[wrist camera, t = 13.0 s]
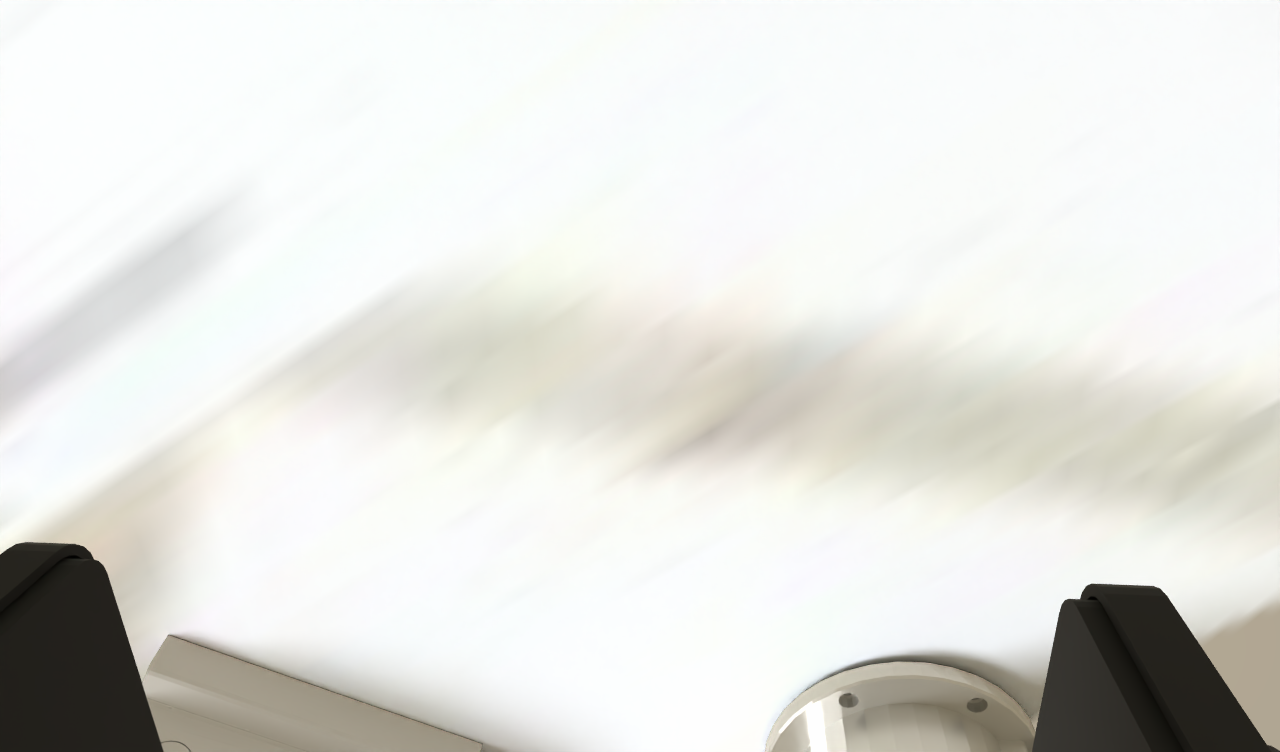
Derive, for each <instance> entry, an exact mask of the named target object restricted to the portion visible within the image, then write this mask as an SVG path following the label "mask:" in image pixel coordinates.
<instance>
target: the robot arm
mask: <svg viewBox="0 0 1280 752" xmlns="http://www.w3.org/2000/svg"><path fill="white" fill-rule="evenodd" d="M0 752H164V751H163V748H162V745H161V741H160V738H159V735H158V732H157V729H156V726H155V723H154V719H153V716H152V713H151V710H150V707H149V704H148V700H147V697H146V694H145V691H144V688H143V685H142V682H141V678H140V675H139V672H138V669H137V666H136V663H135V659H134V656H133V653H132V650H131V647H130V644H129V641H128V637H127V634H126V631H125V628H124V625H123V622H122V618H121V615H120V612H119V609H118V606H117V603H116V600H115V596H114V593H113V590H112V587H111V584H110V581H109V577H108V574H107V572H106V570H105V568H104V566H103V565H102V564H101V563H100V562H99V561H97V560H94V559H93V557H92V555H91V553H90V552H89V551H88V550H87V549H86V548H85V547H84V546H80V545H76V544H59V543H33V542H25V543H19V544H16V545H14V546H12V547H10V548H9V549H7V550H6V551H4V552H3V553H2V554H1V555H0ZM765 752H1280V751H1279V750H1277V749H1276V748H1274V747H1272V746H1269V745H1267V744H1266V743H1265V741H1264V740H1263V738H1262V737H1261V736H1260V734H1259V732H1258V731H1257V729H1256V728H1255V727H1254V725H1253V724H1252V722H1251V721H1250V719H1249V718H1248V716H1247V715H1246V713H1245V712H1244V710H1243V709H1242V707H1241V706H1240V704H1239V703H1238V701H1237V700H1236V698H1235V697H1234V695H1233V694H1232V692H1231V691H1230V689H1229V688H1228V686H1227V685H1226V683H1225V682H1224V680H1223V679H1222V677H1221V676H1220V674H1219V673H1218V671H1217V670H1216V668H1215V667H1214V665H1213V664H1212V662H1211V661H1210V659H1209V658H1208V656H1207V655H1206V654H1205V652H1204V650H1203V649H1202V647H1201V646H1200V644H1199V643H1198V641H1197V640H1196V639H1195V637H1194V636H1193V634H1192V633H1191V631H1190V630H1189V628H1188V627H1187V625H1186V624H1185V622H1184V621H1183V619H1182V618H1181V616H1180V615H1179V613H1178V612H1177V610H1176V609H1175V607H1174V606H1173V604H1172V603H1171V601H1170V600H1169V598H1168V597H1167V596H1166V594H1165V593H1164V592H1163V591H1162V590H1161V589H1160V588H1157V587H1155V586H1138V585H1112V584H1090V585H1087V586H1086V587H1085V589H1084V590H1083V592H1082V594H1081V598H1080V599H1067V600H1065V601H1064V602H1063V604H1062V606H1061V609H1060V612H1059V617H1058V622H1057V627H1056V632H1055V637H1054V642H1053V647H1052V652H1051V657H1050V663H1049V668H1048V673H1047V678H1046V683H1045V688H1044V693H1043V698H1042V703H1041V708H1040V713H1039V718H1038V723H1037V728H1036V732H1035V730H1034V728H1033V725H1032V723H1031V720H1030V718H1029V717H1028V716H1027V714H1026V713H1025V712H1024V711H1023V709H1022V708H1021V707H1020V705H1019V704H1018V703H1017V702H1016V701H1015V700H1014V699H1013V698H1011V697H1010V696H1009V695H1008V694H1007V693H1005V692H1004V691H1003V690H1002V689H1001V688H999V687H998V686H996V685H994V684H992V683H990V682H988V681H986V680H985V679H983V678H981V677H979V676H977V675H974V674H971V673H968V672H965V671H962V670H959V669H957V668H954V667H948V666H943V665H937V664H932V663H925V662H890V663H881V664H871V665H867V666H863V667H859V668H855V669H851V670H847V671H844V672H841V673H839V674H837V675H834V676H832V677H830V678H827V679H825V680H823V681H820V682H819V683H817V684H816V685H814V686H812V687H811V688H809V689H808V690H806V691H805V692H803V693H801V694H800V695H799V696H798V697H797V698H796V699H795V700H794V701H793V702H791V703H790V704H789V705H788V706H787V707H786V708H785V709H784V710H783V712H782V713H781V715H780V716H779V717H778V719H777V720H776V722H775V723H774V725H773V726H772V729H771V731H770V734H769V737H768V739H767V742H766V747H765Z"/></svg>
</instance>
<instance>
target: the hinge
mask: <svg viewBox="0 0 1280 752" xmlns="http://www.w3.org/2000/svg"><path fill="white" fill-rule="evenodd" d="M142 685H143V688H144V691H145V694H146V697H147V700H148V704H149V707H150V710H151V713H152V716H153V719H154V723H155V726H156V729H157V732H158V735H159V738H160V741H161V745H162V748H163V751H164V752H481V749H482V744H481V743H478V742H475V741H472V740H469V739H466V738H464V737H461V736H458V735H455V734H452V733H449V732H446V731H443V730H440V729H438V728H435V727H432V726H429V725H426V724H423V723H420V722H417V721H415V720H412V719H409V718H406V717H403V716H400V715H397V714H394V713H392V712H389V711H386V710H383V709H380V708H377V707H374V706H371V705H368V704H366V703H363V702H360V701H357V700H354V699H351V698H348V697H345V696H343V695H340V694H337V693H334V692H331V691H328V690H325V689H322V688H319V687H317V686H314V685H311V684H308V683H305V682H302V681H299V680H296V679H294V678H291V677H288V676H285V675H282V674H279V673H276V672H273V671H271V670H268V669H265V668H262V667H259V666H256V665H253V664H250V663H247V662H245V661H242V660H239V659H236V658H233V657H230V656H227V655H224V654H222V653H219V652H216V651H213V650H210V649H207V648H204V647H201V646H198V645H196V644H193V643H190V642H187V641H184V640H181V639H178V638H175V637H173V636H170V635H168V636H167V638H166V639H165V641H164V642H163V644H162V646H161V647H160V649H159V650H158V652H157V654H156V655H155V657H154V658H153V660H152V662H151V663H150V665H149V668H148V670H147V672H146V674H145V677H144V679H143V681H142Z"/></svg>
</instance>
